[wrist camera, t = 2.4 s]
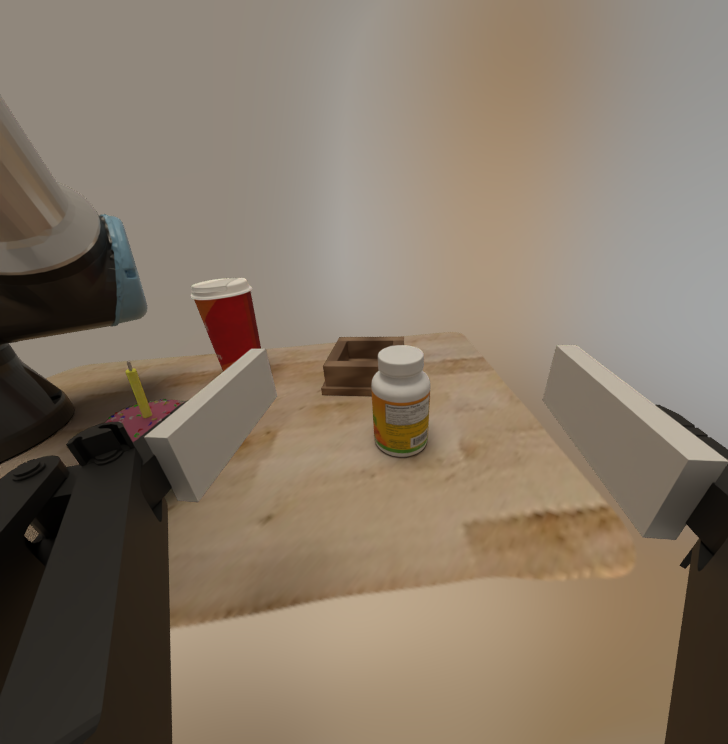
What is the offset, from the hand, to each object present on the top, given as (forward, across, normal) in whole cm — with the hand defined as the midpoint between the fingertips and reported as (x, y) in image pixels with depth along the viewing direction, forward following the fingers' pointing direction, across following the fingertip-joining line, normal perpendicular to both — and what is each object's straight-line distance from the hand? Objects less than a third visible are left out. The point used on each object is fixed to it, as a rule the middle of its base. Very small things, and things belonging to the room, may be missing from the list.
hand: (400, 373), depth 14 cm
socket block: (+25, -5, -13) cm, 29 cm away
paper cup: (+24, -24, -14) cm, 37 cm away
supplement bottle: (+11, 0, -14) cm, 18 cm away
